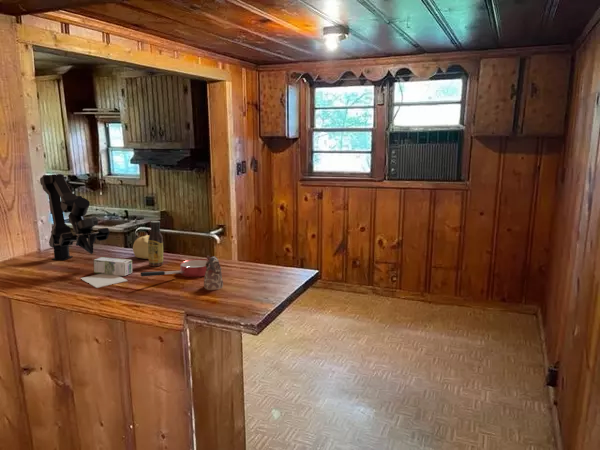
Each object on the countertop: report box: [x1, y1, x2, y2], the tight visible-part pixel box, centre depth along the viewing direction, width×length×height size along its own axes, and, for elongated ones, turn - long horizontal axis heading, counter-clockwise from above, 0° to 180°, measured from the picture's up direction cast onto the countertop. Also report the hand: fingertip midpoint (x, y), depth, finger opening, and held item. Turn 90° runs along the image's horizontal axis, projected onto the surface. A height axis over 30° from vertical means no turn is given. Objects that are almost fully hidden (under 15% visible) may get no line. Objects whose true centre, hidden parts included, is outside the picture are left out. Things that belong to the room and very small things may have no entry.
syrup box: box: [93, 256, 133, 277], centre depth 179 cm, size 6×6×14 cm
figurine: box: [203, 255, 224, 291], centre depth 163 cm, size 7×7×12 cm
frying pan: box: [140, 258, 210, 278], centre depth 173 cm, size 32×13×6 cm, turn 148°
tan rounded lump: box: [132, 234, 150, 260], centre depth 204 cm, size 11×12×11 cm
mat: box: [80, 273, 129, 289], centre depth 171 cm, size 16×12×1 cm
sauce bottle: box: [148, 220, 164, 267], centre depth 191 cm, size 7×6×20 cm
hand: (92, 253), depth 176 cm, fingers closed
